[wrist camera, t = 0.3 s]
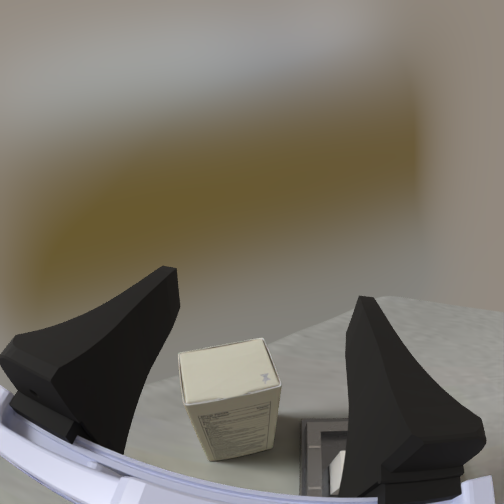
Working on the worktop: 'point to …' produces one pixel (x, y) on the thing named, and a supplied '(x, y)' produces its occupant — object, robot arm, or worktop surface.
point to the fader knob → (336, 473)
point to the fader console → (319, 453)
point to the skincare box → (231, 397)
